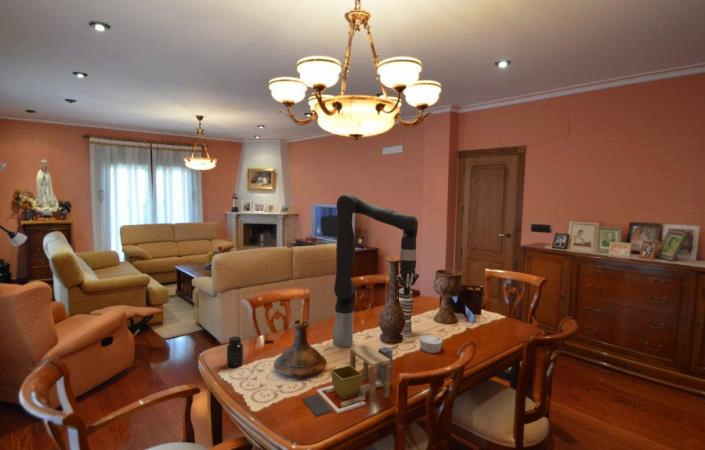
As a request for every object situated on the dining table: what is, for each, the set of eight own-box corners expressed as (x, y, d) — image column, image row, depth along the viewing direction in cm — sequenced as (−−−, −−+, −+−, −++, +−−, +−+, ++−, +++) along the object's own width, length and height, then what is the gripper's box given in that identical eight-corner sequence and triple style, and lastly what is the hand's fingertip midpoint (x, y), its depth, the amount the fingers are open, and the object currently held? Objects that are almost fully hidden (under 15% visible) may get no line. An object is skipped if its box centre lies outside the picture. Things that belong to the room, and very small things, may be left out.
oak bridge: (366, 378, 155) (367, 344, 153) (389, 396, 141) (390, 359, 140) (349, 382, 150) (350, 348, 149) (371, 402, 137) (372, 364, 136)
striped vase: (414, 332, 207) (416, 288, 205) (408, 337, 199) (410, 291, 197) (399, 329, 212) (400, 285, 210) (392, 334, 204) (394, 289, 202)
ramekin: (442, 355, 179) (442, 344, 178) (418, 352, 181) (419, 342, 181) (441, 346, 190) (442, 336, 189) (419, 343, 192) (419, 333, 192)
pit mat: (316, 395, 141) (316, 394, 141) (331, 411, 130) (331, 410, 130) (302, 399, 138) (302, 398, 138) (316, 416, 127) (316, 415, 127)
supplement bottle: (226, 362, 166) (226, 336, 164) (242, 360, 168) (242, 334, 167) (227, 369, 159) (227, 342, 158) (243, 367, 162) (243, 340, 160)
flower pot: (349, 386, 148) (350, 364, 147) (361, 397, 140) (362, 374, 140) (330, 392, 143) (330, 369, 142) (341, 403, 136) (342, 379, 135)
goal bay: (342, 384, 149) (342, 382, 149) (365, 404, 135) (365, 402, 135) (316, 391, 143) (316, 389, 143) (337, 413, 129) (337, 411, 129)
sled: (380, 376, 156) (381, 343, 154) (397, 389, 146) (398, 354, 145) (326, 391, 143) (327, 355, 141) (341, 406, 133) (342, 368, 132)
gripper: (413, 256, 182) (412, 291, 183) (391, 258, 175) (390, 294, 176) (424, 258, 175) (422, 294, 177) (402, 260, 168) (400, 298, 170)
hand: (406, 294), depth 176 cm, fingers closed
